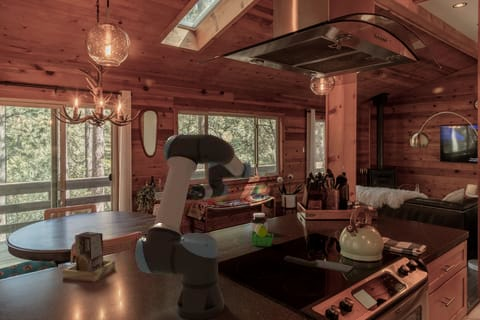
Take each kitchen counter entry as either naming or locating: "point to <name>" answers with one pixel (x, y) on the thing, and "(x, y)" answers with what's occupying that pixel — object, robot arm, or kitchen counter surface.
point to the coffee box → (89, 251)
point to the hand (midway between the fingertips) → (163, 197)
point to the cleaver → (320, 264)
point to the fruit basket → (262, 237)
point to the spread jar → (258, 221)
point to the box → (86, 276)
